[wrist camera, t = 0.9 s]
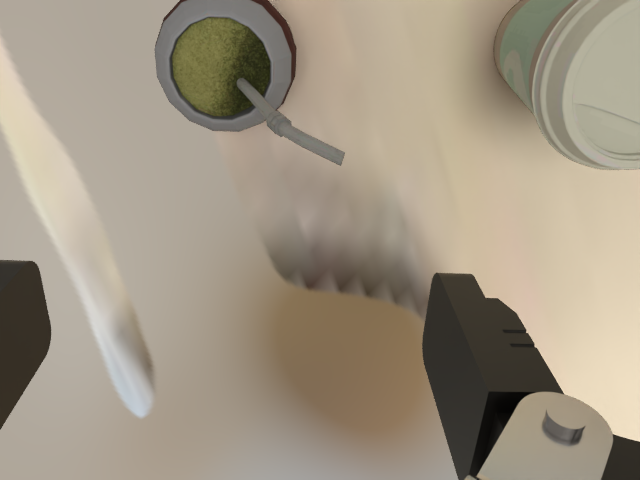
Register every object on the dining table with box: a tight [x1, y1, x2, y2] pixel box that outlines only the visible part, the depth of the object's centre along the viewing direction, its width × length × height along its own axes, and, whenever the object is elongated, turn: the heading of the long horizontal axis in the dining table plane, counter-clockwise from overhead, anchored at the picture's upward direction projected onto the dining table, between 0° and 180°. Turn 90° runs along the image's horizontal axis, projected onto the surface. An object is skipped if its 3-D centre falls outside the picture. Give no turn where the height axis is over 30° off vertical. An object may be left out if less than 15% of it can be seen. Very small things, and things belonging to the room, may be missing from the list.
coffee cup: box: [494, 0, 640, 170], centre depth 29 cm, size 8×8×12 cm
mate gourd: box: [155, 0, 345, 166], centre depth 27 cm, size 8×8×15 cm
